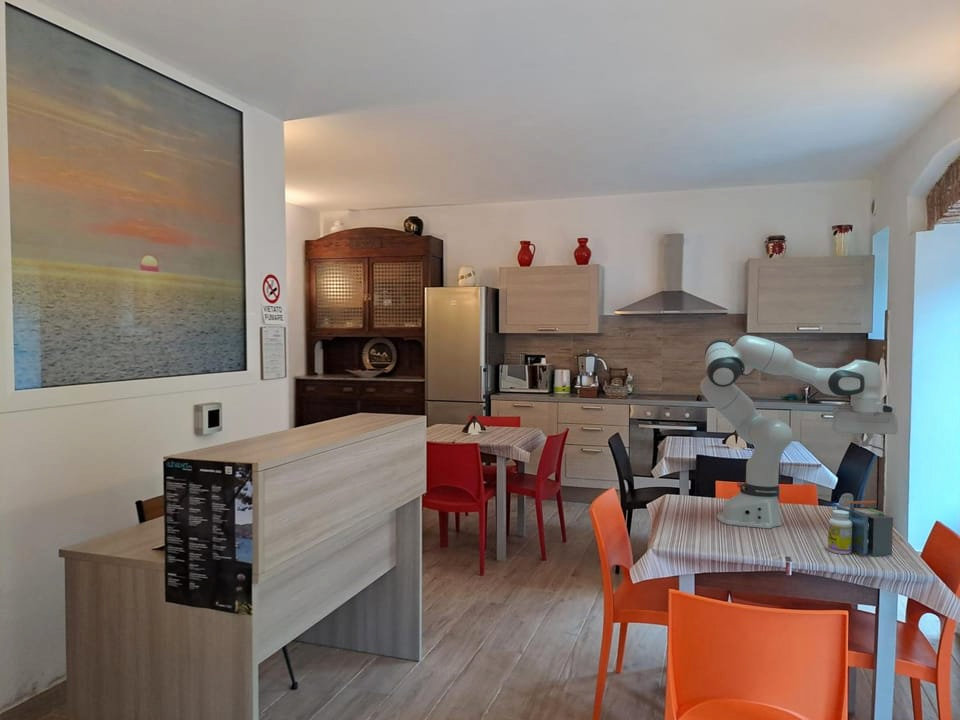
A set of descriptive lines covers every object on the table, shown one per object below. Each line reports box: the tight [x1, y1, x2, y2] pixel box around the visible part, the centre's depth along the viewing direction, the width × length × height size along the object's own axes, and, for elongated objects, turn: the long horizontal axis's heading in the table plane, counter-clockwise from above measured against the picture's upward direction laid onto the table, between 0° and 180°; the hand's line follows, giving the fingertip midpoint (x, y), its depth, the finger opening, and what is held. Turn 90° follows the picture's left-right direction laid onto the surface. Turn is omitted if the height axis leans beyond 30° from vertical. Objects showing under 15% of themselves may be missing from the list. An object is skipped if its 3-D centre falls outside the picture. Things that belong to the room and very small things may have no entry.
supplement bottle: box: [827, 509, 852, 555], centre depth 215 cm, size 7×7×13 cm
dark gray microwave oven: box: [854, 507, 894, 557], centre depth 217 cm, size 7×12×13 cm, turn 12°
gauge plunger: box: [836, 500, 877, 555], centre depth 217 cm, size 10×12×15 cm
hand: (863, 446), depth 233 cm, fingers closed
